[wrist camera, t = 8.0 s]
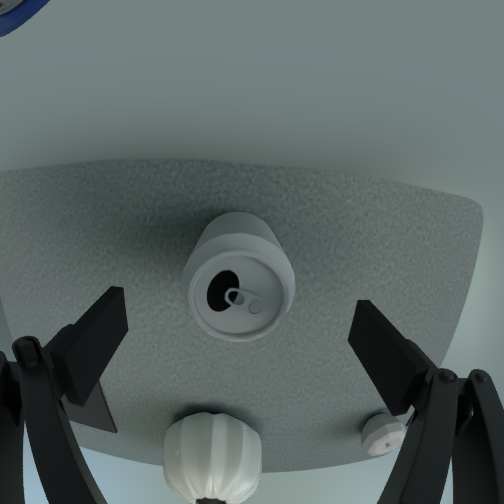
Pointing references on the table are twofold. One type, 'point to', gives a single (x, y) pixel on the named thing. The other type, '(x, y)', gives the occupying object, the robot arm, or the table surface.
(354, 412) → the table surface
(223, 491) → the vase
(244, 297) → the can
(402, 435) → the apple
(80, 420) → the scale
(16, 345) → the robot arm
